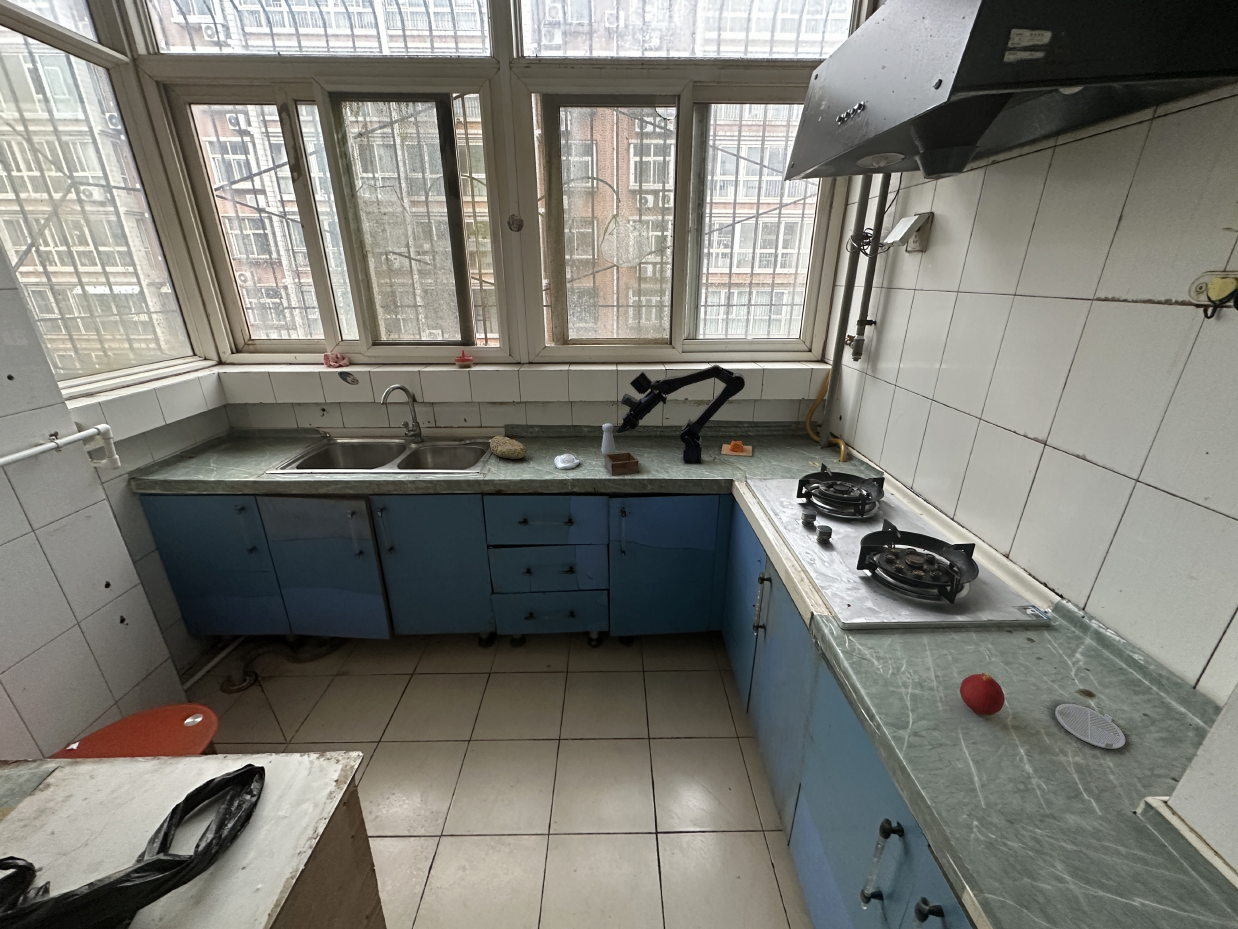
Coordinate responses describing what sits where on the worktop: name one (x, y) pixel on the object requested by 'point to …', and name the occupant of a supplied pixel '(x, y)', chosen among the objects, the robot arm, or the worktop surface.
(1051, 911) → the worktop surface
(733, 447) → the board with orange mound
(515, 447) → the tan oval lump
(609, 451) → the salt shaker
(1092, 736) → the drain cover
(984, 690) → the onion
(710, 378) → the robot arm
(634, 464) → the box
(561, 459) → the white lumpy mound
